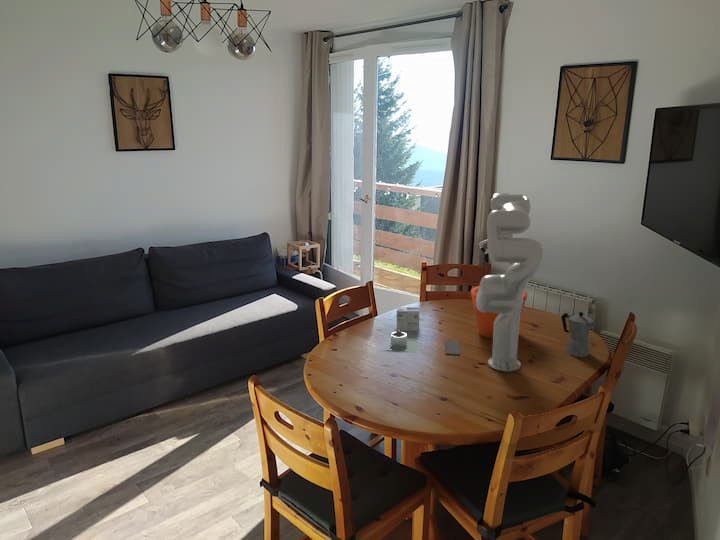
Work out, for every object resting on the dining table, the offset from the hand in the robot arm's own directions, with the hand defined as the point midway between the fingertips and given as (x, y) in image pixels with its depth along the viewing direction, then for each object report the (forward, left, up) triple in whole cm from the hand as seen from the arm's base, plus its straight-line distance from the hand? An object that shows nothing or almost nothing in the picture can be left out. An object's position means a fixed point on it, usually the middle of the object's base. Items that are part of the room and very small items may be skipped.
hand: (498, 262), depth 219 cm
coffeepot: (-8, -32, -36) cm, 49 cm away
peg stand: (-9, +42, -36) cm, 56 cm away
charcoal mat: (-9, +23, -36) cm, 44 cm away
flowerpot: (+11, -2, -36) cm, 38 cm away
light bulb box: (+11, +39, -36) cm, 54 cm away
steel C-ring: (-9, +42, -35) cm, 55 cm away
